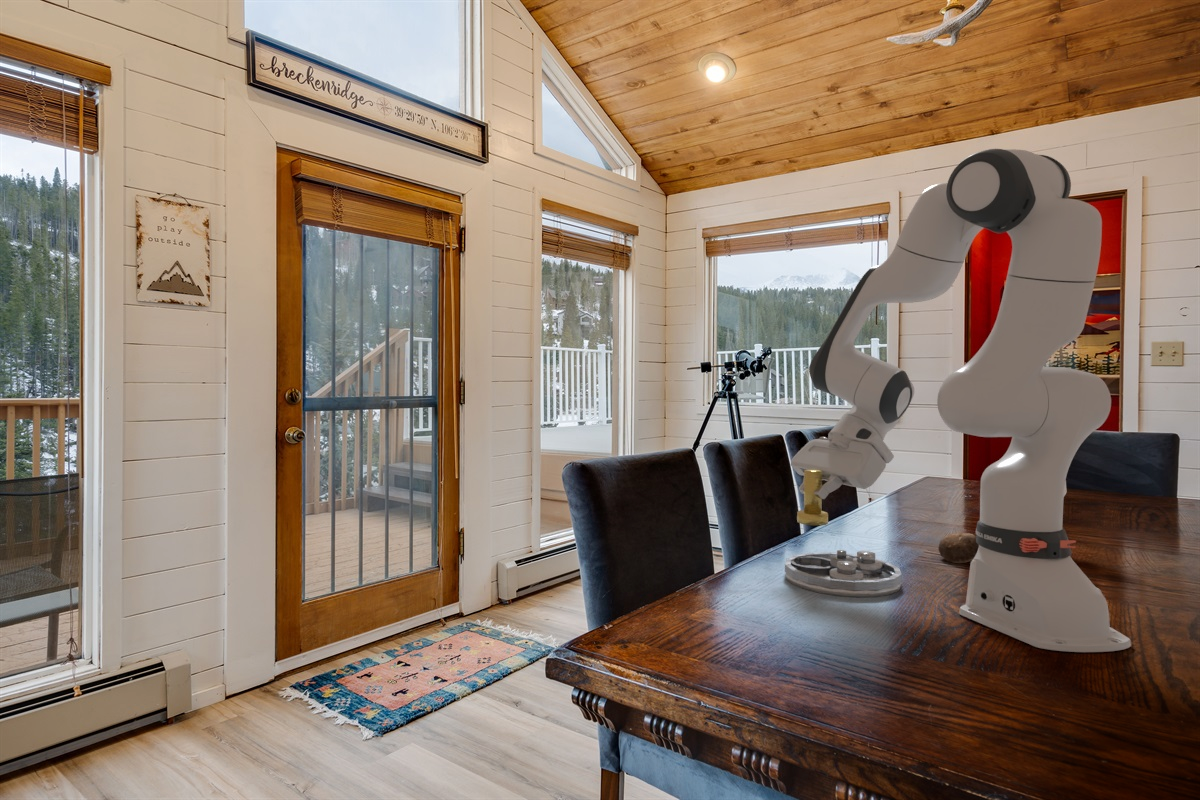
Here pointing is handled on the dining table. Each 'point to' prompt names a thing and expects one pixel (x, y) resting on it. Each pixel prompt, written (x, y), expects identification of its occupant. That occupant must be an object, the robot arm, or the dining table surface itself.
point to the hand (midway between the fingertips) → (810, 494)
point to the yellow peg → (812, 501)
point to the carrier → (843, 574)
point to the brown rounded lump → (958, 547)
